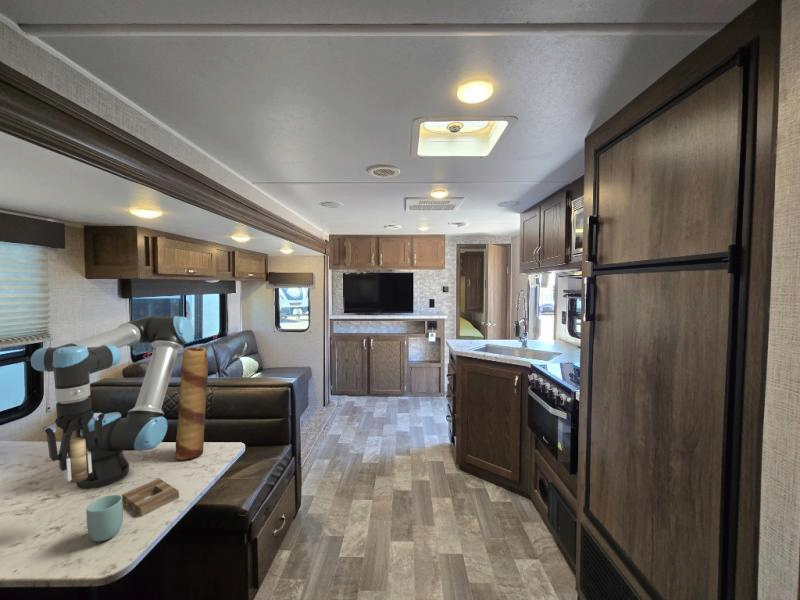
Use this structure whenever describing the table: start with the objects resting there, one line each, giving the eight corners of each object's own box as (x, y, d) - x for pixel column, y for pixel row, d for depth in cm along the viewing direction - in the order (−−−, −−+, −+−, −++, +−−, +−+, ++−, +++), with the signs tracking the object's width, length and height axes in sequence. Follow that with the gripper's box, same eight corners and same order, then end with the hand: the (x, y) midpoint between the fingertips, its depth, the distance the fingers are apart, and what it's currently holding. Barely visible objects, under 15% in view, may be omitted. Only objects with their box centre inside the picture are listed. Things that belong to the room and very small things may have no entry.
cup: (102, 527, 104) (100, 495, 103) (130, 525, 105) (128, 493, 104) (80, 547, 96) (78, 512, 96) (110, 545, 97) (108, 511, 96)
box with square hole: (122, 501, 116) (122, 494, 116) (159, 484, 125) (158, 478, 125) (141, 516, 109) (141, 508, 109) (178, 497, 118) (178, 490, 118)
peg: (67, 480, 104) (65, 441, 103) (85, 473, 107) (82, 435, 106) (72, 484, 101) (69, 444, 101) (90, 477, 105) (87, 439, 104)
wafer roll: (203, 447, 154) (208, 346, 153) (204, 457, 144) (209, 350, 144) (175, 451, 148) (180, 346, 148) (174, 462, 139) (179, 351, 139)
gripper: (36, 411, 93) (43, 494, 95) (114, 393, 108) (118, 465, 109) (28, 405, 97) (34, 485, 99) (104, 389, 112) (108, 459, 113)
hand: (78, 475), depth 104 cm, fingers closed on peg, 4 cm apart
